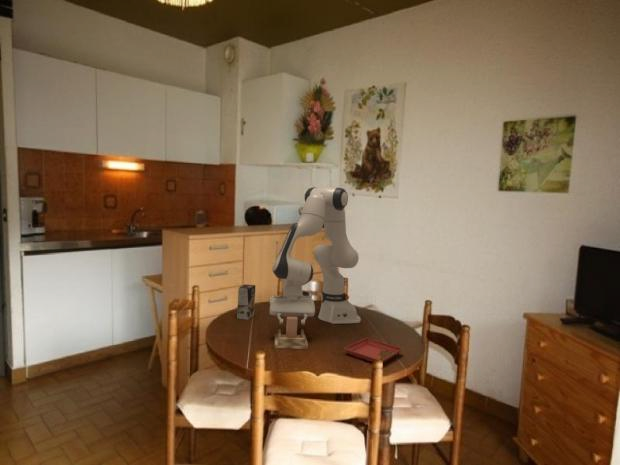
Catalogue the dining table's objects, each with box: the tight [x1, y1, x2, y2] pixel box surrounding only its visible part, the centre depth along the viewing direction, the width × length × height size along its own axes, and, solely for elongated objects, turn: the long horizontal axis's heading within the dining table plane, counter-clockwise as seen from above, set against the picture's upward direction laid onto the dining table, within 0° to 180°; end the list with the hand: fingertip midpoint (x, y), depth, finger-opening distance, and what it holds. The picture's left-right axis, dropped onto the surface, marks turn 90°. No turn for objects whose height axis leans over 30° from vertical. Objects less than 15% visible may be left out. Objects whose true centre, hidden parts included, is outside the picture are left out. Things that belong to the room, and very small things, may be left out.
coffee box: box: [236, 284, 257, 321], centre depth 211 cm, size 9×6×16 cm
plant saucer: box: [344, 337, 403, 363], centre depth 171 cm, size 18×18×3 cm
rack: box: [274, 328, 309, 350], centre depth 179 cm, size 14×13×4 cm
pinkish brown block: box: [285, 316, 298, 338], centre depth 178 cm, size 4×4×10 cm
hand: (292, 323), depth 178 cm, fingers open, 8 cm apart
